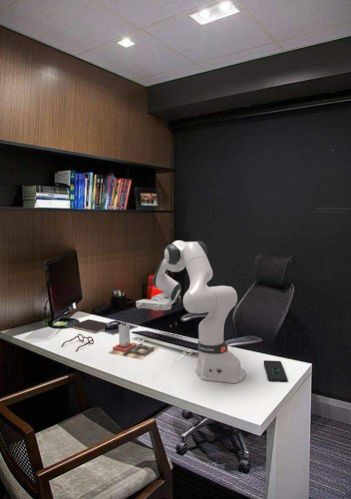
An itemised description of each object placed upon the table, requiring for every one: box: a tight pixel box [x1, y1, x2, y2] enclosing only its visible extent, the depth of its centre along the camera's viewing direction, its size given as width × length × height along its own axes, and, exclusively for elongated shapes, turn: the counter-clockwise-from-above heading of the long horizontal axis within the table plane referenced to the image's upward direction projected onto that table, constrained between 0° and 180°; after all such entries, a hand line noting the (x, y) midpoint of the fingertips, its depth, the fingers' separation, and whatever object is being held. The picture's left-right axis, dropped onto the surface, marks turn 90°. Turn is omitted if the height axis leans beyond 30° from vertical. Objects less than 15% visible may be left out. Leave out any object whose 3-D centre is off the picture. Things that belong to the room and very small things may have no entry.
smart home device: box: [263, 359, 288, 383], centre depth 165 cm, size 8×2×20 cm
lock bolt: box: [118, 321, 131, 349], centre depth 193 cm, size 4×4×14 cm
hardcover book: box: [70, 318, 108, 334], centre depth 236 cm, size 16×23×2 cm
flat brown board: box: [107, 341, 161, 361], centre depth 190 cm, size 21×18×3 cm
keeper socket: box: [112, 342, 136, 352], centre depth 193 cm, size 9×9×2 cm
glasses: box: [60, 333, 95, 353], centre depth 203 cm, size 13×13×5 cm
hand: (145, 307), depth 202 cm, fingers open, 8 cm apart
